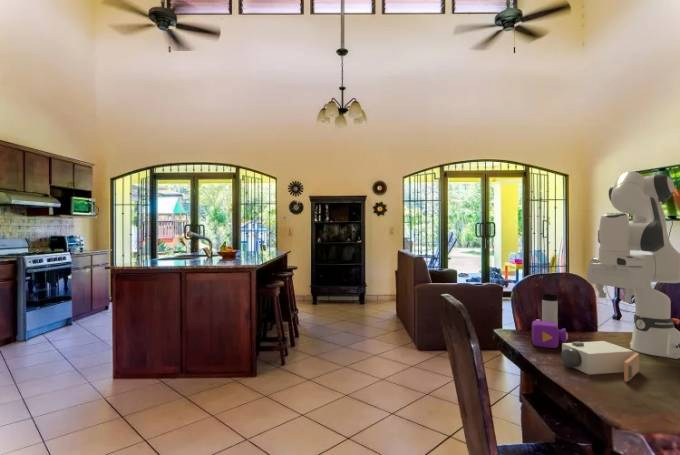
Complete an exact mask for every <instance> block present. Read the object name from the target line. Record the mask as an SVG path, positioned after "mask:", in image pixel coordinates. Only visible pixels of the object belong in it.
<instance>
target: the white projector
mask: <svg viewBox="0 0 680 455" xmlns="http://www.w3.org/2000/svg"><path fill="white" fill-rule="evenodd" d="M634 352H635V350H633V349H629V348H626V347H623V346H619V345H617V344H614V343H611V342H609V341H605V340H600V341H599V340H597V341H572V342H566V343H563V342H561V353H560V358H561V362H562V363H563V365H564V366H566V368H573V369H576V370H578V371H580V372H583V373H585V374H587V375H601V374H612V373H614V374H615V373H624V362H625V361H626V360H627V359H629V358H630V357H631V356H632V355H634Z"/></svg>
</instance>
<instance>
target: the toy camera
mask: <svg viewBox="0 0 680 455" xmlns="http://www.w3.org/2000/svg"><path fill="white" fill-rule="evenodd" d="M566 329H567V328H565V327H564V328H562V329H559V327H558V326H557V325H556V323H554V322H548V321H542V320H541V319H535V320H533V321H532V322H531V340H532V343H533V345H534V346H535V347H541V348H549V349H557V348H558V347H559V341H560V342H561V343H567V340H568V339H569V335H568V332H567V330H566Z"/></svg>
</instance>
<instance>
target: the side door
mask: <svg viewBox="0 0 680 455" xmlns="http://www.w3.org/2000/svg"><path fill="white" fill-rule="evenodd" d="M639 372H640V353H639V352H638V351H634V355H632V356H631V357H630V358H629V359H627V360H626V361H625V362H624V372H623V376H624V377H623V380H624V381H625V382H630V380H632V379H633V378H634V377H635V376H636V375H637V374H638V373H639Z"/></svg>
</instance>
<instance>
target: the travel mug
mask: <svg viewBox="0 0 680 455" xmlns="http://www.w3.org/2000/svg"><path fill="white" fill-rule="evenodd" d="M541 294H542V295H541V296H542V299H541V321H548V322H554V323H556V325H557V326H558V325H559V324H558V319H559V318H558V313H559V312H558V308H559V306H558V305H559V304H558V303H559V302H558V294H554V293H553V294H551V293H548V292H546V293H545V292H542V293H541Z"/></svg>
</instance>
